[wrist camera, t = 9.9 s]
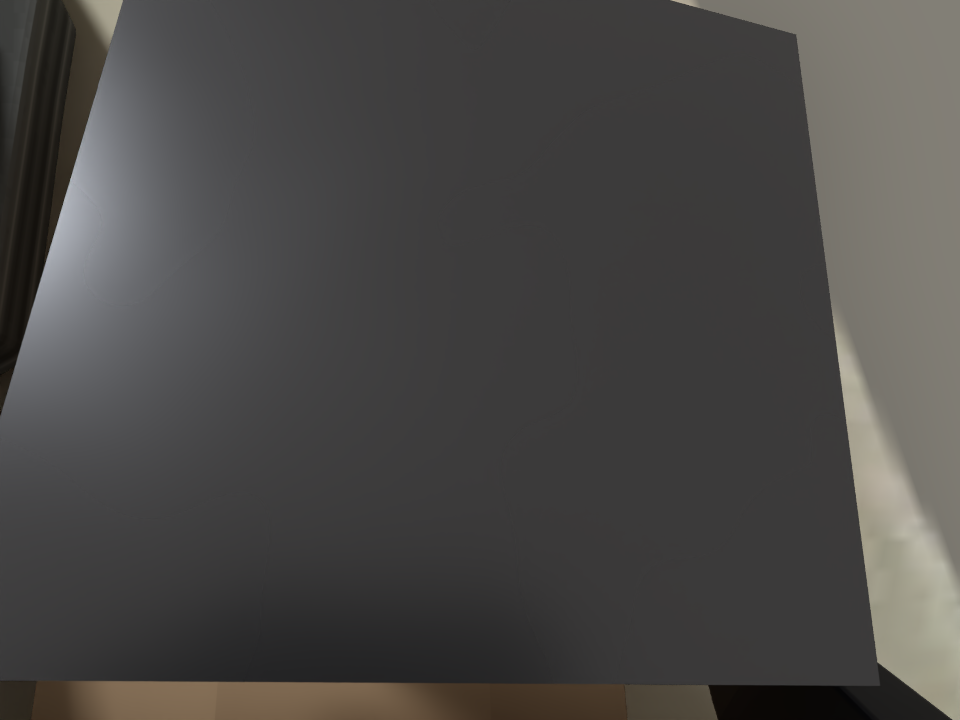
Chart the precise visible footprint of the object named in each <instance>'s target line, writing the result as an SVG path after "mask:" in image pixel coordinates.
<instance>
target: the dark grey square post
mask: <svg viewBox="0 0 960 720" xmlns="http://www.w3.org/2000/svg"><path fill="white" fill-rule="evenodd" d="M0 681H158V682H324V683H489V684H655V685H820V686H880V680H879V672H878V665H877V657H876V649H875V641H874V634H873V626H872V618H871V610H870V603H869V595H868V587H867V579H866V572H865V564H864V556H863V549H862V541H861V533H860V525H859V518H858V510H857V502H856V494H855V487H854V479H853V471H852V463H851V456H850V448H849V440H848V432H847V425H846V417H845V409H844V402H843V394H842V386H841V378H840V371H839V363H838V355H837V347H836V340H835V332H834V324H833V316H832V309H831V301H830V293H829V286H828V278H827V270H826V262H825V255H824V247H823V239H822V232H821V225H820V216H819V208H818V201H817V193H816V185H815V178H814V170H813V162H812V154H811V147H810V139H809V131H808V124H807V115H806V108H805V100H804V93H803V85H802V77H801V69H800V62H799V54H798V46H797V38H796V35H795V34H792V33H788V32H785V31H781V30H777V29H774V28H769V27H766V26H763V25H759V24H755V23H752V22H748V21H744V20H740V19H737V18H733V17H730V16H726V15H722V14H719V13H715V12H711V11H708V10H704V9H700V8H697V7H693V6H689V5H686V4H682V3H678V2H675V1H671V0H123V3H122V7H121V10H120V13H119V17H118V20H117V24H116V27H115V30H114V34H113V37H112V41H111V44H110V47H109V51H108V54H107V57H106V61H105V64H104V68H103V71H102V74H101V78H100V81H99V84H98V88H97V91H96V95H95V98H94V101H93V105H92V108H91V112H90V115H89V118H88V122H87V125H86V128H85V132H84V135H83V139H82V142H81V145H80V149H79V152H78V156H77V159H76V162H75V166H74V169H73V172H72V176H71V179H70V183H69V186H68V189H67V193H66V196H65V200H64V203H63V206H62V210H61V213H60V216H59V220H58V223H57V227H56V230H55V233H54V237H53V240H52V244H51V247H50V250H49V254H48V257H47V260H46V264H45V267H44V271H43V274H42V277H41V281H40V284H39V288H38V291H37V294H36V298H35V301H34V304H33V308H32V311H31V315H30V318H29V321H28V325H27V328H26V332H25V335H24V338H23V342H22V345H21V348H20V352H19V355H18V359H17V362H16V365H15V369H14V372H13V376H12V379H11V382H10V386H9V389H8V392H7V396H6V399H5V403H4V406H3V409H2V413H1V416H0Z"/></svg>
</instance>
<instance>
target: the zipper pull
mask: <svg viewBox="0 0 960 720" xmlns="http://www.w3.org/2000/svg"><path fill="white" fill-rule="evenodd" d="M75 36H76V29H75V27H74V24H73V22H72V20H71V18H70V16H69V14H68V12H67V10H66V8H65V6H64V4H63V2H62V0H0V375H1V374H2V373H4V372H6V371H8V370H10V369H11V368H13V367H15V365H16V362H17V359H18V355H19V352H20V348H21V345H22V342H23V338H24V335H25V332H26V328H27V325H28V321H29V318H30V315H31V311H32V308H33V304H34V301H35V298H36V294H37V291H38V288H39V284H40V281H41V277H42V273H43V265H44V258H45V250H46V242H47V234H48V227H49V219H50V211H51V203H52V196H53V188H54V180H55V173H56V165H57V157H58V149H59V142H60V134H61V126H62V118H63V111H64V105H65V99H66V93H67V86H68V80H69V74H70V67H71V61H72V55H73V49H74V42H75Z"/></svg>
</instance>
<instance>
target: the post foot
mask: <svg viewBox="0 0 960 720" xmlns="http://www.w3.org/2000/svg"><path fill="white" fill-rule="evenodd" d="M31 720H627V709H626V698H625V687H624V684H489V683H324V682H158V681H37V683H36V689H35V695H34V702H33V708H32V715H31Z"/></svg>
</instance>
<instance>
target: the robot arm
mask: <svg viewBox="0 0 960 720" xmlns="http://www.w3.org/2000/svg"><path fill="white" fill-rule="evenodd" d="M877 665H878V672H879V680H880V686H820V685H708V686H709V690H710V694H711V697H712V701H713V704H714V708H715V711H716V714H717V718H718V720H952V719H951V718H949V717H948V716H947V715H946V714H944V713H943V712H942V711H940V710H939V709H938V708H936V707H935V706H934V705H932V704H931V703H930V702H929V701H927V700H926V699H925V698H923V697H922V696H921V695H919V694H918V693H917V692H916V691H914V690H913V689H912V688H910V687H909V686H908V685H906V684H905V683H904V682H902V681H901V680H900V679H899V678H897V677H896V676H895V675H893V674H892V673H891V672H889V671H888V670H887V669H885V668H884V667H883V666H882V665H880V664H879V663H878V662H877Z"/></svg>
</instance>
